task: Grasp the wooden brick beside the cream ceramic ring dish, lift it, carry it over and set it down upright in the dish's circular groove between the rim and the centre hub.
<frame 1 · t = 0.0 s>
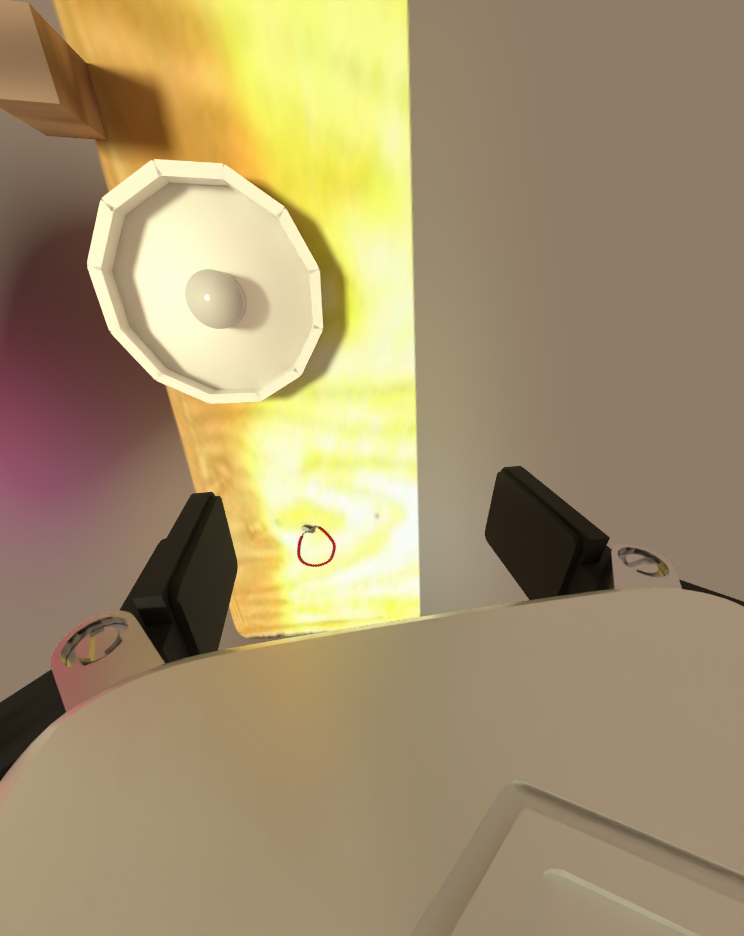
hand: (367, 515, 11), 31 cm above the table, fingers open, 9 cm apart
dish: (222, 299, 34), on the table
wooden brick: (65, 100, 26), on the table
red cord bracelet: (315, 543, 51), on the table
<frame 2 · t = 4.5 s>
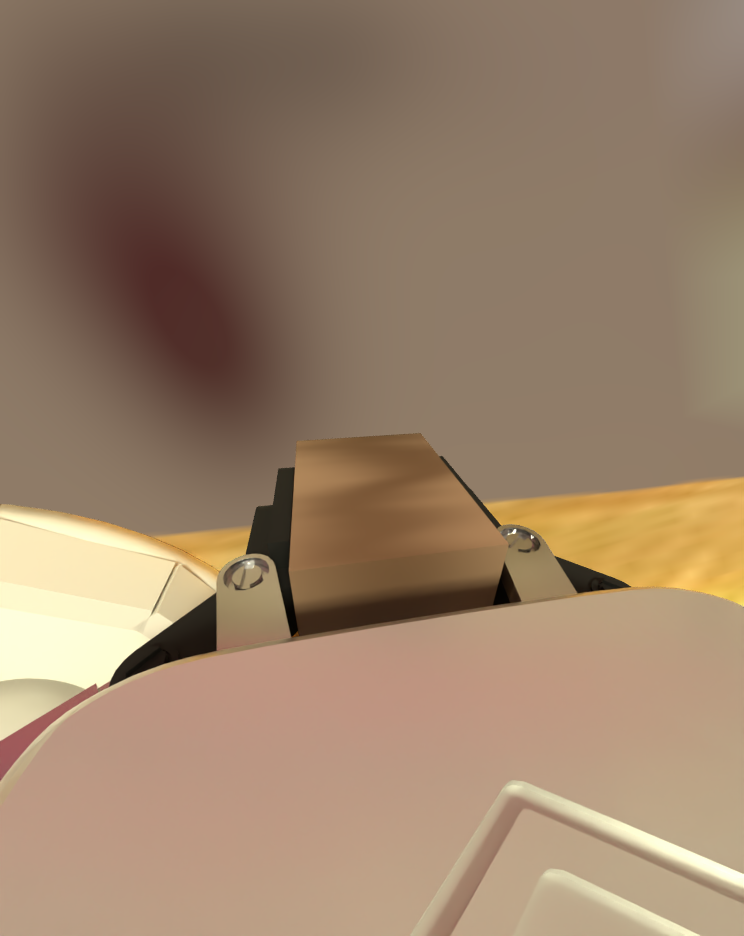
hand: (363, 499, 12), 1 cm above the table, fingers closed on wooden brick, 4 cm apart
dish: (53, 689, 15), on the table
wooden brick: (360, 489, 13), on the table, touching gripper
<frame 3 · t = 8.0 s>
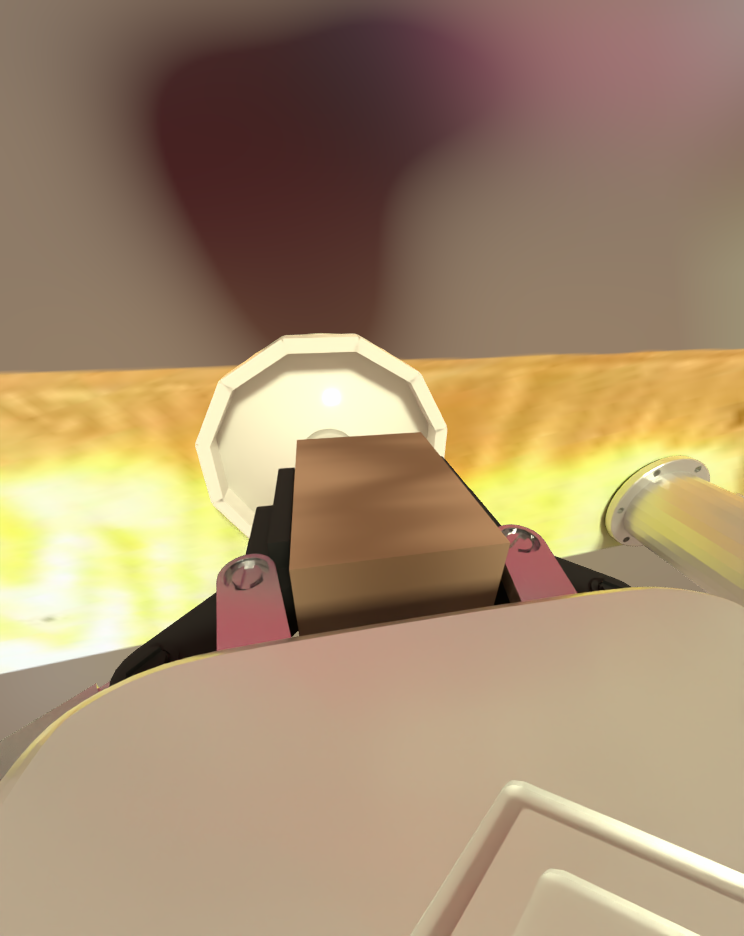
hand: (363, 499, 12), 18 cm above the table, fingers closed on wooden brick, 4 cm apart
dish: (328, 450, 30), on the table
wooden brick: (361, 489, 13), point 17 cm above the table, touching gripper
when the fingers open (3 cm above the table, at t = 11.6 s): wooden brick drops 1 cm, resting on dish.
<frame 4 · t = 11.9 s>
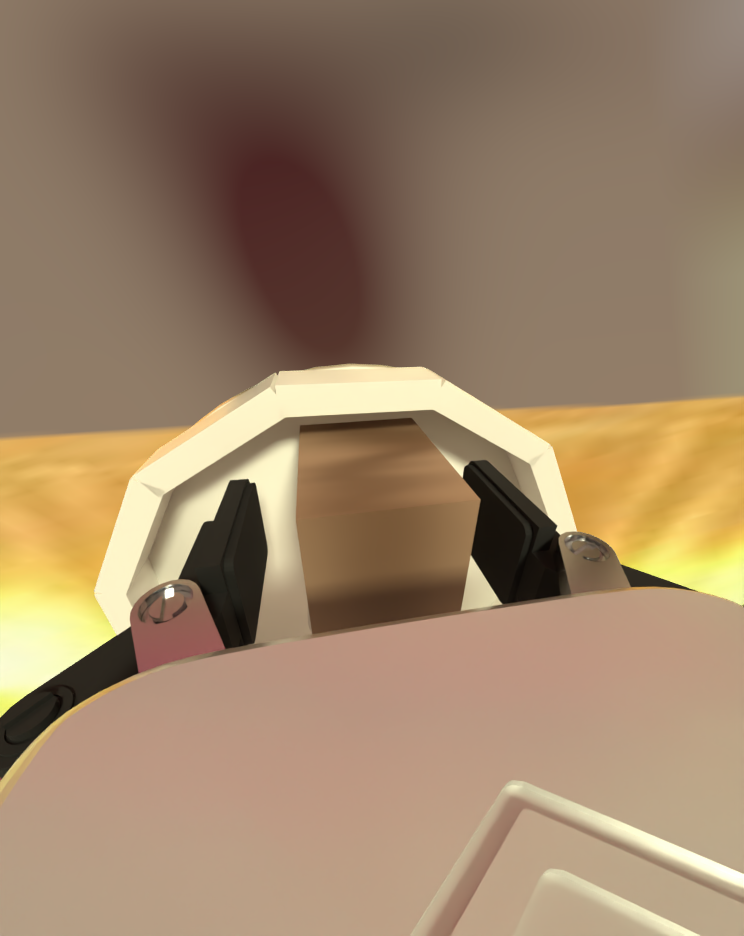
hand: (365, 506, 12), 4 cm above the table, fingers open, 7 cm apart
dish: (355, 557, 17), on the table
wooden brick: (358, 470, 14), point 1 cm above the table, touching dish
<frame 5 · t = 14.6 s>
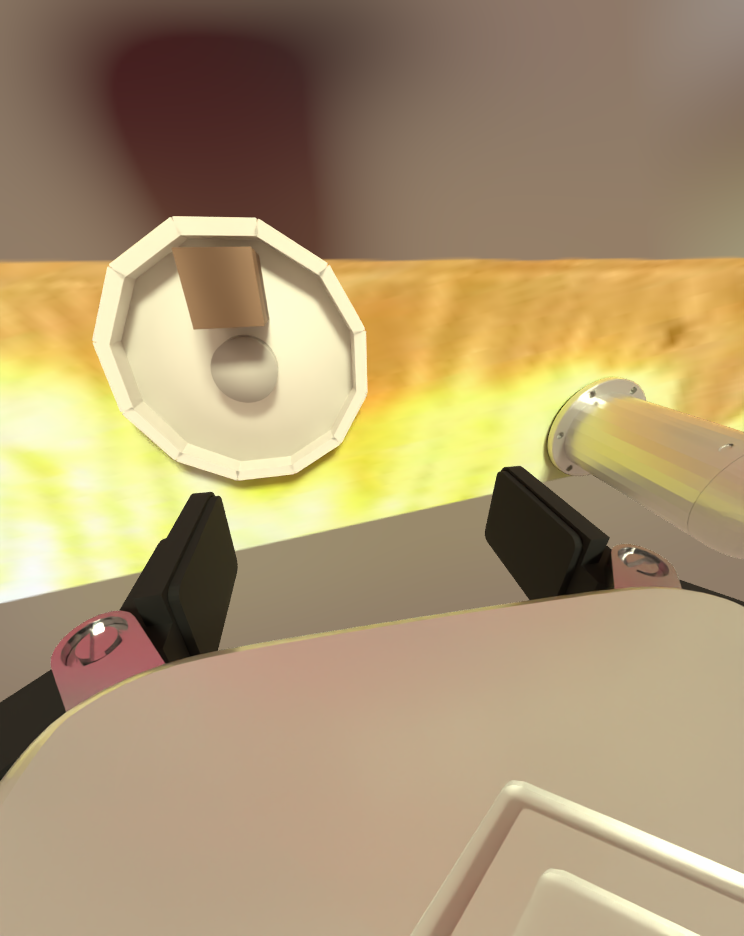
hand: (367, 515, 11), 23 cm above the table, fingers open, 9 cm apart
dish: (249, 363, 29), on the table
wooden brick: (235, 289, 26), point 1 cm above the table, touching dish
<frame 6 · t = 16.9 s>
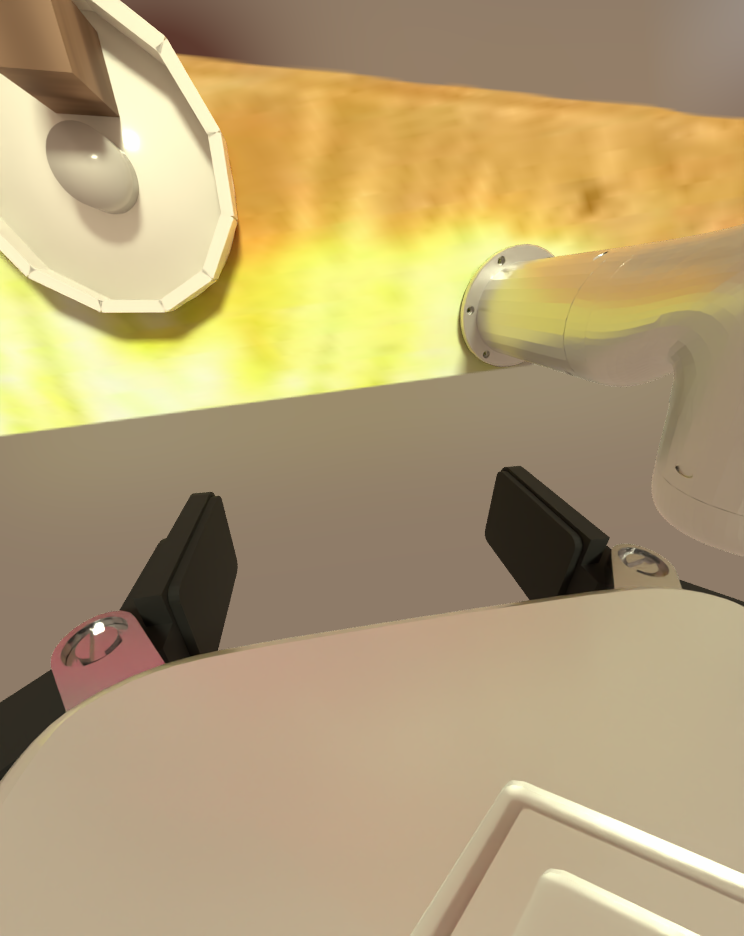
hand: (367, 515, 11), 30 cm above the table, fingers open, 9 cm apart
dish: (110, 179, 28), on the table
wooden brick: (76, 73, 24), point 1 cm above the table, touching dish
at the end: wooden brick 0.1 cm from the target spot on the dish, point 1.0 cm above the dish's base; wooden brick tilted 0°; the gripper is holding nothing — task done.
